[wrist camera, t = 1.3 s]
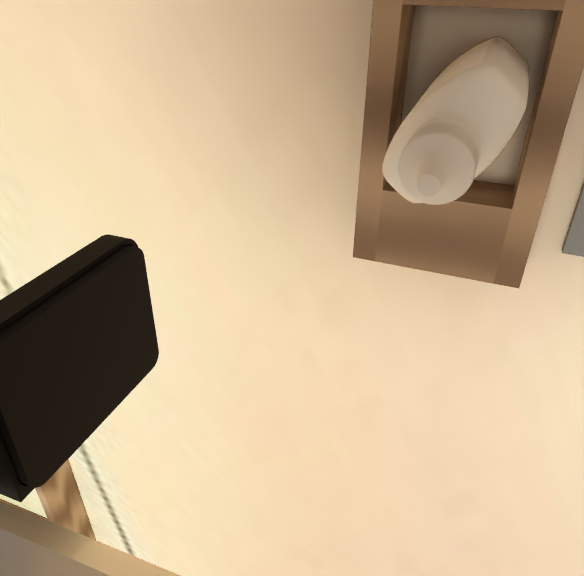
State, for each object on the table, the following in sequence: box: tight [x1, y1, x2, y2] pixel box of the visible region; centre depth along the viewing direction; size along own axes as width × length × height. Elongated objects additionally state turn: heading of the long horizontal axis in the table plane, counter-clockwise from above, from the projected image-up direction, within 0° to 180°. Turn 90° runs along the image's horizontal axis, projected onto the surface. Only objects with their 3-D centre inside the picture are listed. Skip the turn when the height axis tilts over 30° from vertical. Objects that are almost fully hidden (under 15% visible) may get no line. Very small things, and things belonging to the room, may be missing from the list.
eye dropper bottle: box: [382, 37, 529, 205], centre depth 20 cm, size 4×6×12 cm
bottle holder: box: [353, 0, 584, 288], centre depth 24 cm, size 16×8×3 cm, turn 0°
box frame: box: [0, 460, 95, 540], centre depth 63 cm, size 21×19×4 cm
